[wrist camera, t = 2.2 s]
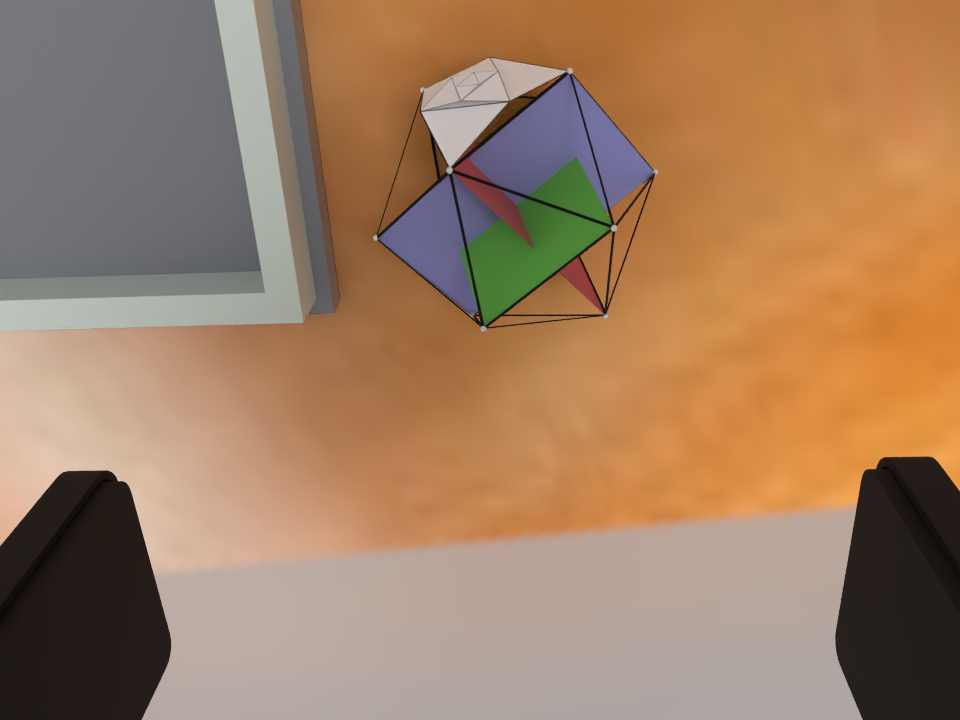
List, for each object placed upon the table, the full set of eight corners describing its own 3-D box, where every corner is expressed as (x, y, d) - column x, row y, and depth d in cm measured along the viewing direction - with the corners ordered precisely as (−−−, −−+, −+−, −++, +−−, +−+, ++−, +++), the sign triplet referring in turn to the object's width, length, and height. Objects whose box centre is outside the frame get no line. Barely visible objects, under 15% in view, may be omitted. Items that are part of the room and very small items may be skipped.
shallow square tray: (266, -245, 23) (234, -263, 20) (339, 300, 29) (322, 337, 27) (-325, -203, 24) (-426, -215, 21) (-123, 313, 31) (-181, 350, 28)
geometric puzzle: (726, 255, 26) (654, 195, 19) (541, 388, 28) (414, 380, 21) (593, 74, 28) (483, -43, 21) (431, 211, 30) (282, 149, 23)
